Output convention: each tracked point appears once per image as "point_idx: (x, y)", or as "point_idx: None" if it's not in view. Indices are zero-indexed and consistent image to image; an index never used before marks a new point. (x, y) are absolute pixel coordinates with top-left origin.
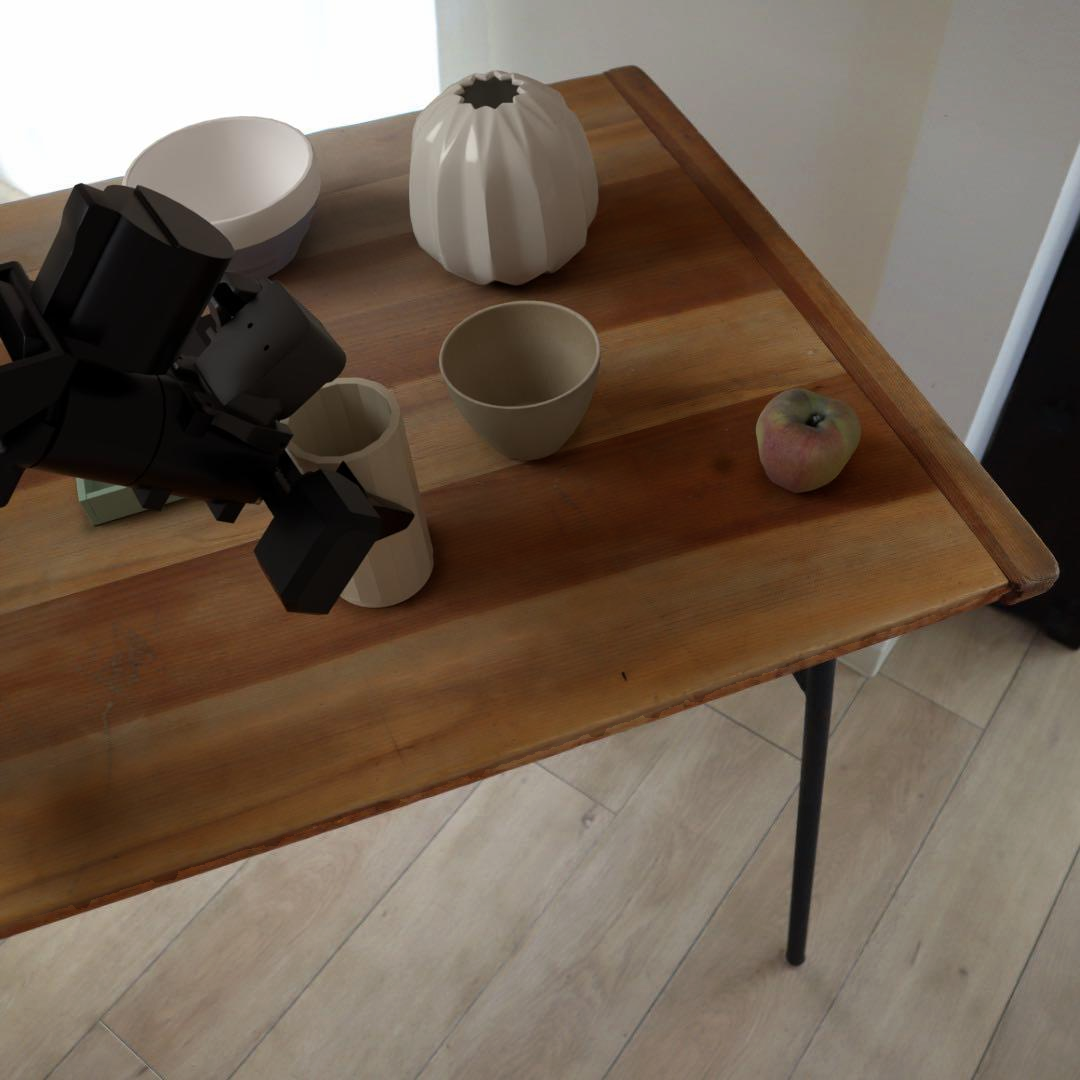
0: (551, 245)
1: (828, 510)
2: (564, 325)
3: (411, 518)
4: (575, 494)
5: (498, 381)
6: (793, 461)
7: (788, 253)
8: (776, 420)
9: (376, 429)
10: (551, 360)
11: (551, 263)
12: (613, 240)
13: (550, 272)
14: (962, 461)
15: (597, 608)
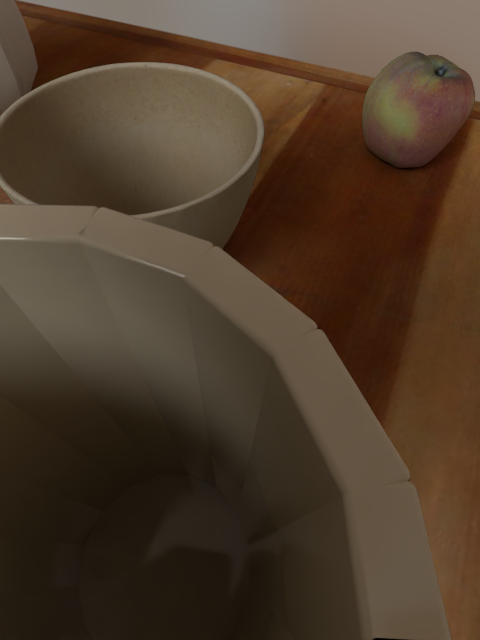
0: (10, 58)
1: (449, 166)
2: (131, 95)
3: None
4: (275, 280)
5: None
6: (457, 118)
7: (192, 39)
8: (428, 83)
9: (46, 392)
10: (130, 159)
11: (20, 88)
12: (48, 78)
13: None
14: None
15: (446, 375)
